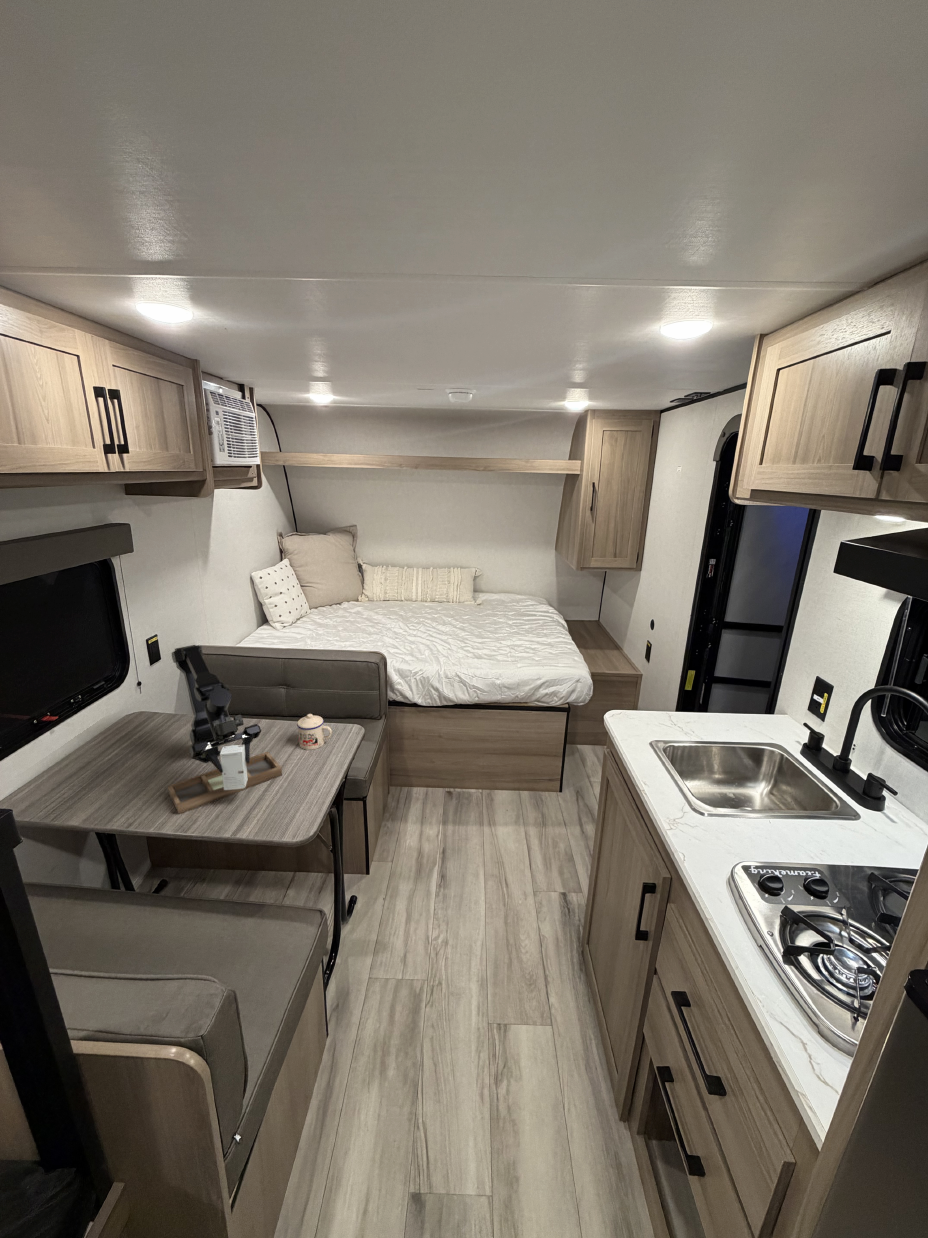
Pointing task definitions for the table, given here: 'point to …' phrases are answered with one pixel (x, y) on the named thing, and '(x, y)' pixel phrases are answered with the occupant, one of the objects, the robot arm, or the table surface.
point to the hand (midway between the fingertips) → (235, 767)
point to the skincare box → (233, 767)
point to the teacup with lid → (312, 732)
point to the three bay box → (220, 783)
